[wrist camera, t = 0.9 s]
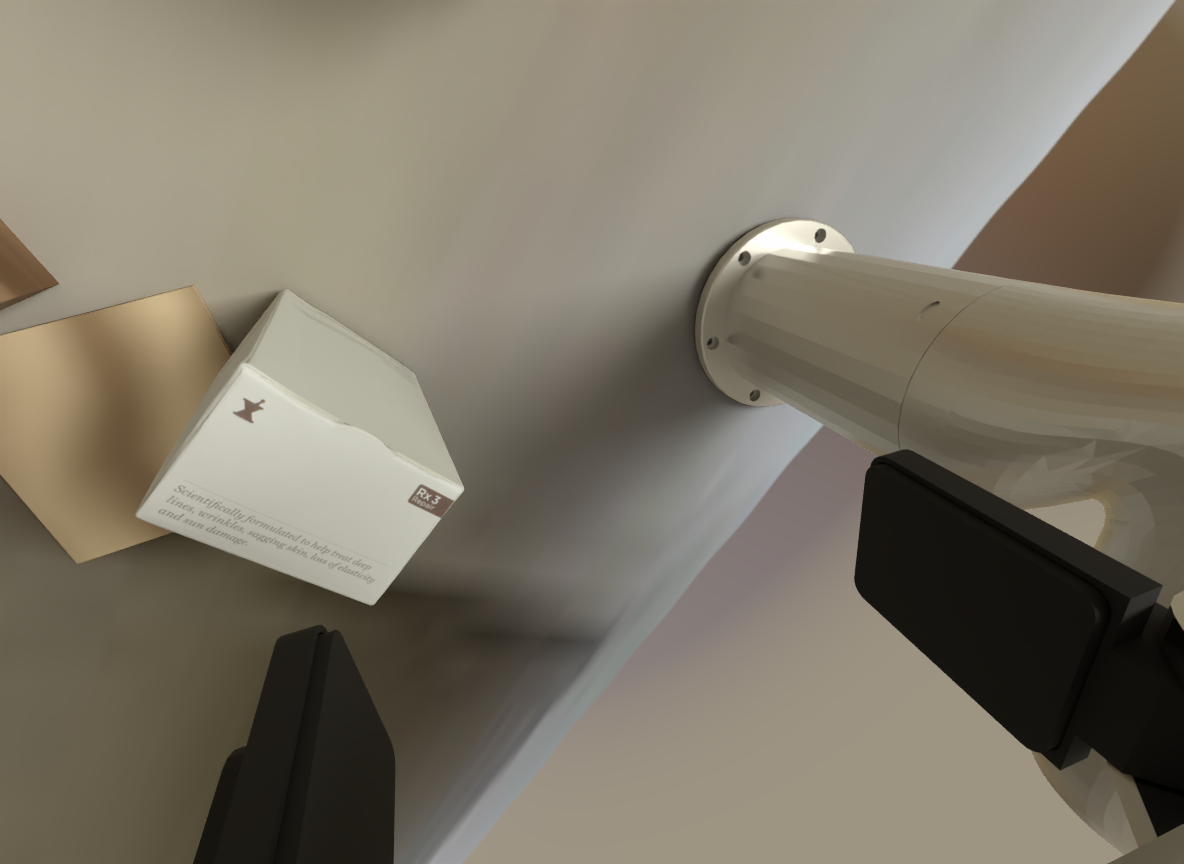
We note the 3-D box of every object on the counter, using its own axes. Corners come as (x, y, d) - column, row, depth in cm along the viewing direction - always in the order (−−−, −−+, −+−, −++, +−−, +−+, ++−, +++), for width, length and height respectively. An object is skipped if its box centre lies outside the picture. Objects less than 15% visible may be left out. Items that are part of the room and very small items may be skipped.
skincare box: (218, 372, 28) (102, 520, 16) (288, 279, 28) (227, 353, 15) (365, 453, 33) (367, 621, 20) (428, 374, 32) (470, 493, 20)
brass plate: (194, 285, 27) (191, 286, 27) (304, 485, 33) (303, 488, 32) (-91, 358, 25) (-97, 360, 24) (81, 559, 30) (77, 564, 30)
